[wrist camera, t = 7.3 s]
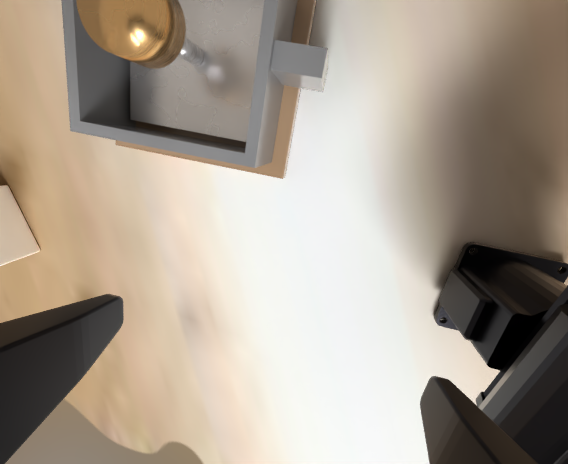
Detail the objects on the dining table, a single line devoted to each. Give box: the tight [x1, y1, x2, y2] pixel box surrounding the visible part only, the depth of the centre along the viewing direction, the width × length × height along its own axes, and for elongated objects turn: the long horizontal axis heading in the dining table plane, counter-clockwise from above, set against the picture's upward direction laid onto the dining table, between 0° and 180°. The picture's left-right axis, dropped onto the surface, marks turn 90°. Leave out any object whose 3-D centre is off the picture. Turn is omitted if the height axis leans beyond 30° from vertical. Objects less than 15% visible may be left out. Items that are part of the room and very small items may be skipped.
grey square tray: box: [62, 0, 328, 179], centre depth 15 cm, size 14×12×6 cm
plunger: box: [76, 0, 264, 142], centre depth 13 cm, size 8×8×7 cm
